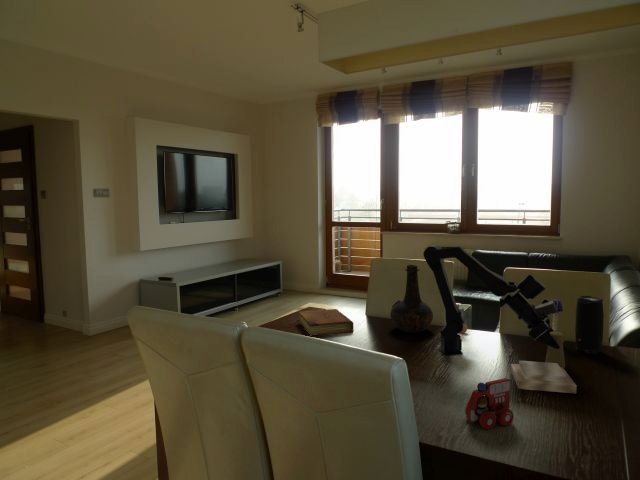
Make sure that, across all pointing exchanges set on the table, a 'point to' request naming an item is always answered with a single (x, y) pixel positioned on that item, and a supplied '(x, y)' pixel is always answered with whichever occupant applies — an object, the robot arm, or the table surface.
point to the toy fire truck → (490, 404)
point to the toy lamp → (555, 315)
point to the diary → (326, 322)
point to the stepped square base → (542, 377)
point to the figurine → (465, 325)
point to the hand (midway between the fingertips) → (558, 344)
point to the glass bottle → (411, 307)
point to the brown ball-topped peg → (556, 350)
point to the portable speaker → (589, 324)
